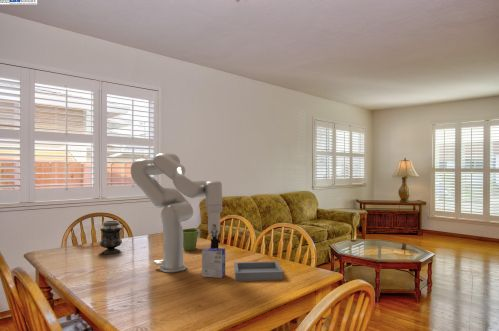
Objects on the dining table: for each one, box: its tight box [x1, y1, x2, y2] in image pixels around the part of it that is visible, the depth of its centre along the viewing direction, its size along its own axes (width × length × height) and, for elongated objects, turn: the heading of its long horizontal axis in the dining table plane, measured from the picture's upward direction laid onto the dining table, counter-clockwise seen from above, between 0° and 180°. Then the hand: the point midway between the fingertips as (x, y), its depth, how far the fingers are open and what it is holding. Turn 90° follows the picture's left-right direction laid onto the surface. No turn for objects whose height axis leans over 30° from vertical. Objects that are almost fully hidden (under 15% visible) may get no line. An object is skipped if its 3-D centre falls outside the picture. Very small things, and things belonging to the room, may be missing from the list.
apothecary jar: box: [99, 220, 123, 255], centre depth 195 cm, size 12×12×18 cm
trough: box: [233, 260, 284, 282], centre depth 154 cm, size 21×16×4 cm
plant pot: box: [182, 228, 200, 251], centre depth 201 cm, size 12×12×11 cm
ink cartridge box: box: [201, 245, 226, 279], centre depth 153 cm, size 10×6×14 cm, turn 78°
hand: (215, 245), depth 152 cm, fingers open, 9 cm apart
